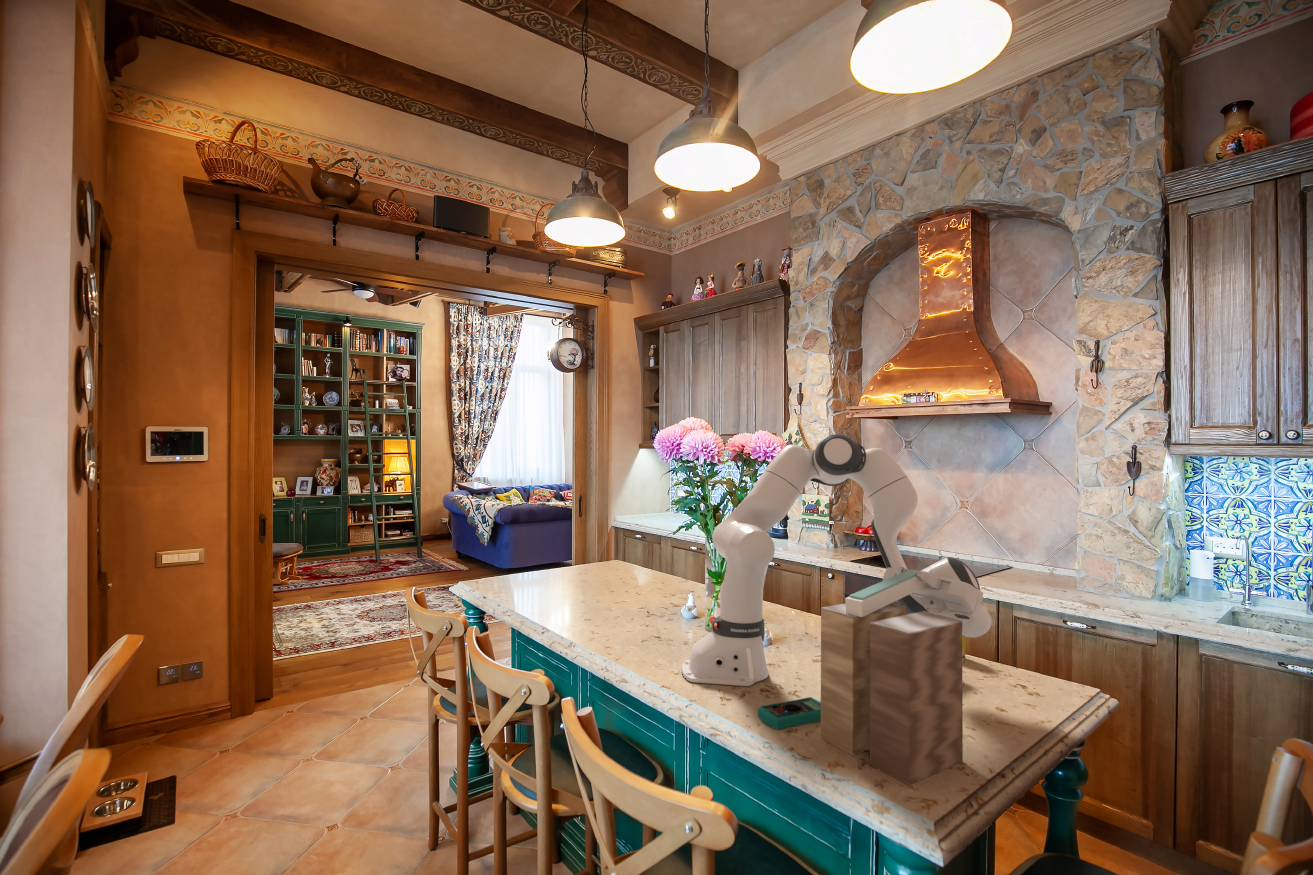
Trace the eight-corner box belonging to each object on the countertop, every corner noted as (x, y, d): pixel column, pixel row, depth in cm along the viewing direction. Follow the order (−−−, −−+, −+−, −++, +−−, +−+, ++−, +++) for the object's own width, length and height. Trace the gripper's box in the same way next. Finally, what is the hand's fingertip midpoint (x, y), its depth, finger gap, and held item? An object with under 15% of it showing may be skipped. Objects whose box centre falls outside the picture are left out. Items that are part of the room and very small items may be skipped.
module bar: (911, 583, 134) (910, 567, 134) (926, 585, 132) (926, 570, 132) (845, 613, 118) (845, 595, 118) (862, 617, 115) (861, 599, 115)
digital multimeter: (755, 718, 131) (755, 704, 131) (811, 707, 137) (811, 694, 137) (774, 732, 125) (774, 718, 125) (832, 721, 130) (832, 707, 130)
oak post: (873, 720, 130) (873, 598, 130) (906, 735, 123) (906, 606, 124) (820, 737, 121) (821, 607, 122) (852, 755, 115) (852, 616, 115)
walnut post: (924, 743, 119) (923, 610, 120) (962, 761, 113) (962, 620, 113) (869, 764, 111) (870, 621, 112) (908, 785, 104) (907, 633, 105)
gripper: (906, 576, 146) (874, 551, 140) (991, 593, 129) (957, 566, 123) (898, 600, 145) (864, 576, 139) (982, 621, 127) (948, 595, 121)
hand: (909, 571), depth 131 cm, fingers closed on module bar, 4 cm apart
